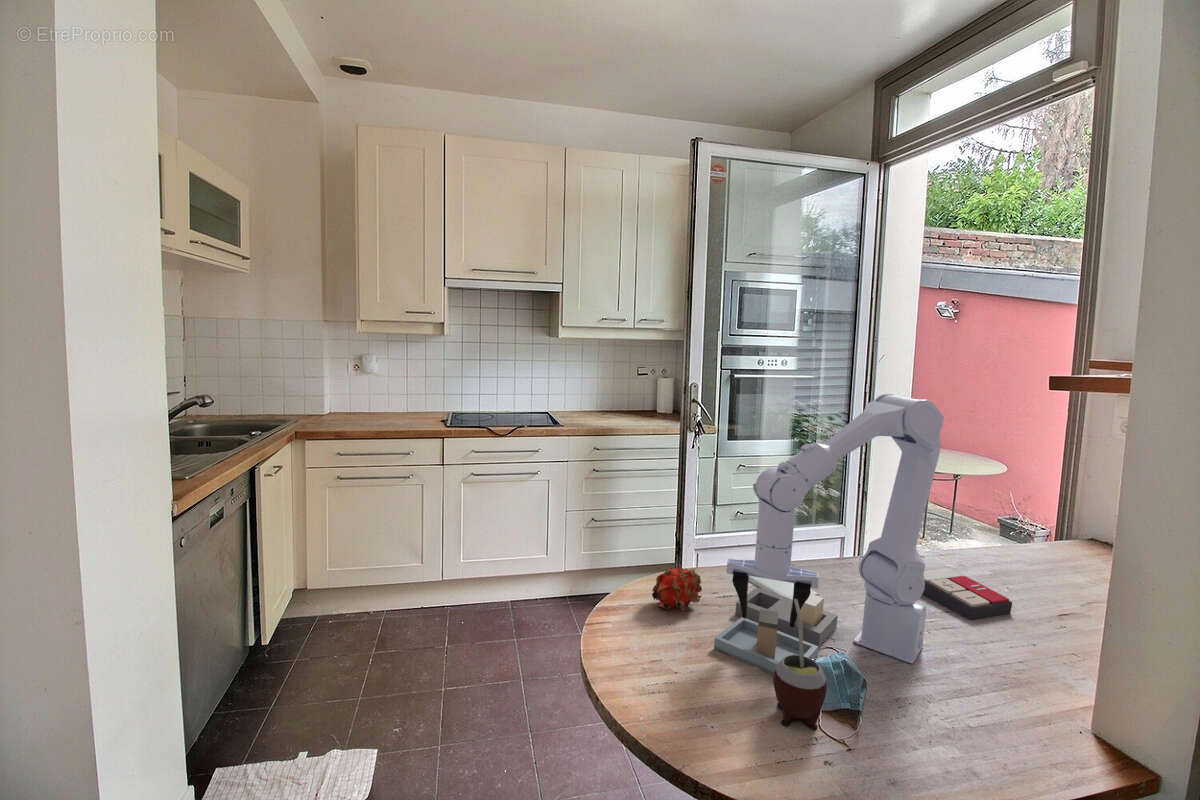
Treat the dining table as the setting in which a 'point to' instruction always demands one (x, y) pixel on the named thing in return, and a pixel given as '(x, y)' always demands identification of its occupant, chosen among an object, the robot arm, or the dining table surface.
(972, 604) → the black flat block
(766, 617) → the block
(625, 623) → the dining table surface
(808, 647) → the parts tray
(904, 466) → the robot arm
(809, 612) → the block
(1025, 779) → the dining table surface
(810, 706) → the mate gourd
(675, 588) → the dragon fruit
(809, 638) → the block
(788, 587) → the hard drive
